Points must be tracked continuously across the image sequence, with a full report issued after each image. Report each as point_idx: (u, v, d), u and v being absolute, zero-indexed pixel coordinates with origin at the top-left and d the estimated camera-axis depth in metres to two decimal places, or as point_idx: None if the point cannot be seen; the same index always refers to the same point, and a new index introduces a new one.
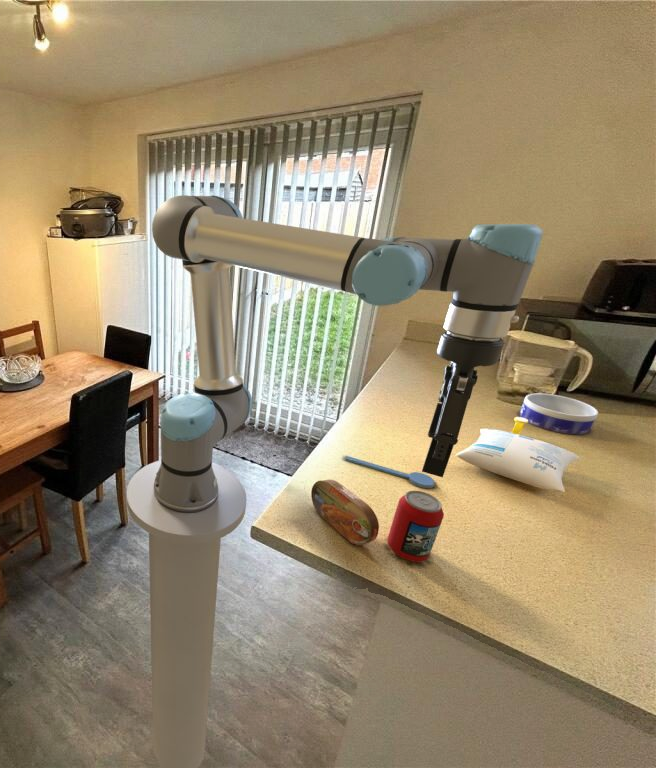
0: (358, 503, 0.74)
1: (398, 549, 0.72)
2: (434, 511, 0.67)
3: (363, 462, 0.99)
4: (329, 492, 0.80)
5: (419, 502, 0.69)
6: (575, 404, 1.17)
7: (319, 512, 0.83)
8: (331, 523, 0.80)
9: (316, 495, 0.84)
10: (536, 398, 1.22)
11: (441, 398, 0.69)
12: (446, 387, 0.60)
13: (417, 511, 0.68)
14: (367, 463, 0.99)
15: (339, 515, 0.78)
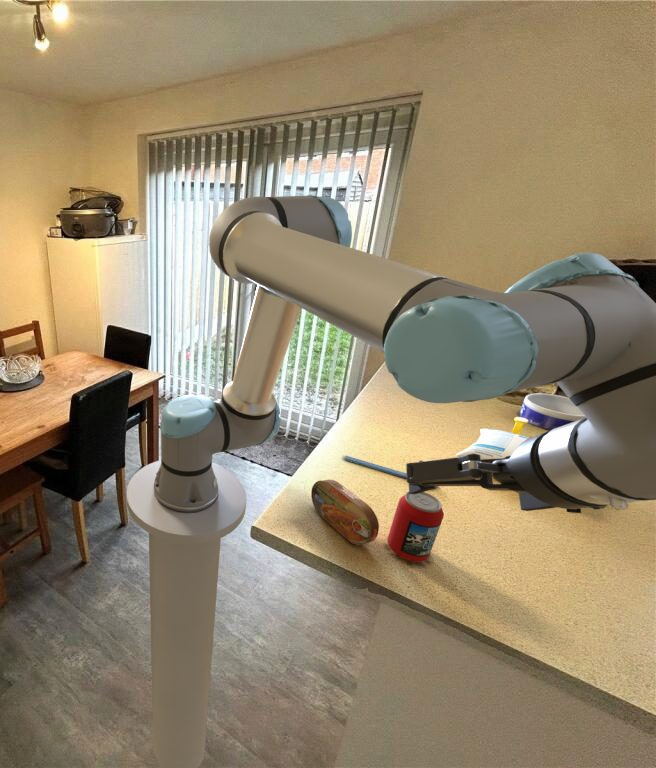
0: (358, 503, 0.74)
1: (398, 549, 0.72)
2: (434, 511, 0.67)
3: (363, 462, 0.99)
4: (329, 492, 0.80)
5: (419, 502, 0.69)
6: None
7: (319, 512, 0.83)
8: (331, 523, 0.80)
9: (316, 495, 0.84)
10: (536, 398, 1.22)
11: None
12: (491, 461, 0.46)
13: (417, 511, 0.68)
14: (367, 463, 0.99)
15: (339, 515, 0.78)
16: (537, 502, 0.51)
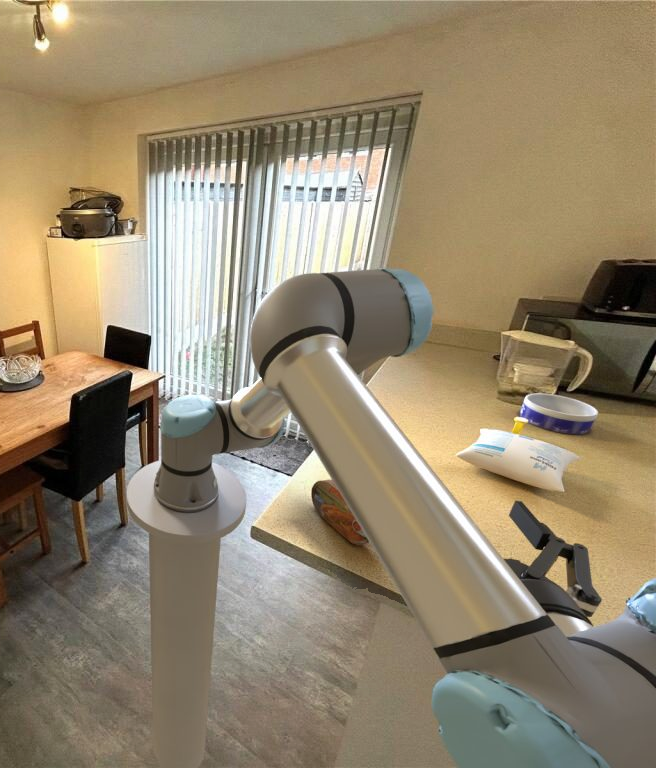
0: None
1: None
2: None
3: None
4: (329, 492, 0.80)
5: None
6: (575, 404, 1.17)
7: (319, 512, 0.83)
8: (331, 523, 0.80)
9: (316, 495, 0.84)
10: (536, 398, 1.22)
11: (548, 542, 0.49)
12: None
13: None
14: None
15: (339, 515, 0.78)
16: (523, 528, 0.53)
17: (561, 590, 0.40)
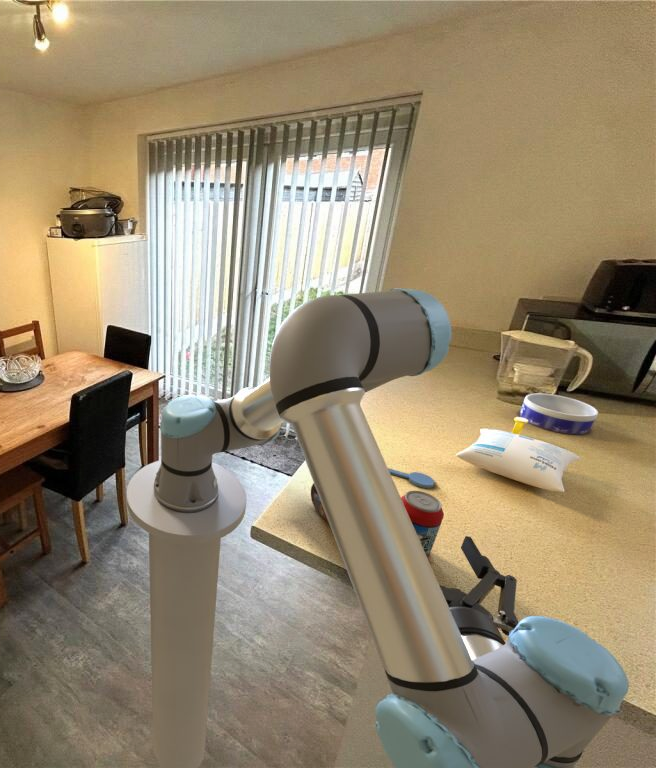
0: None
1: None
2: (434, 511, 0.67)
3: None
4: None
5: (419, 502, 0.69)
6: (575, 404, 1.17)
7: (318, 511, 0.84)
8: None
9: (315, 494, 0.84)
10: (536, 398, 1.22)
11: (486, 573, 0.60)
12: None
13: (417, 511, 0.68)
14: None
15: None
16: (470, 560, 0.65)
17: (485, 616, 0.51)
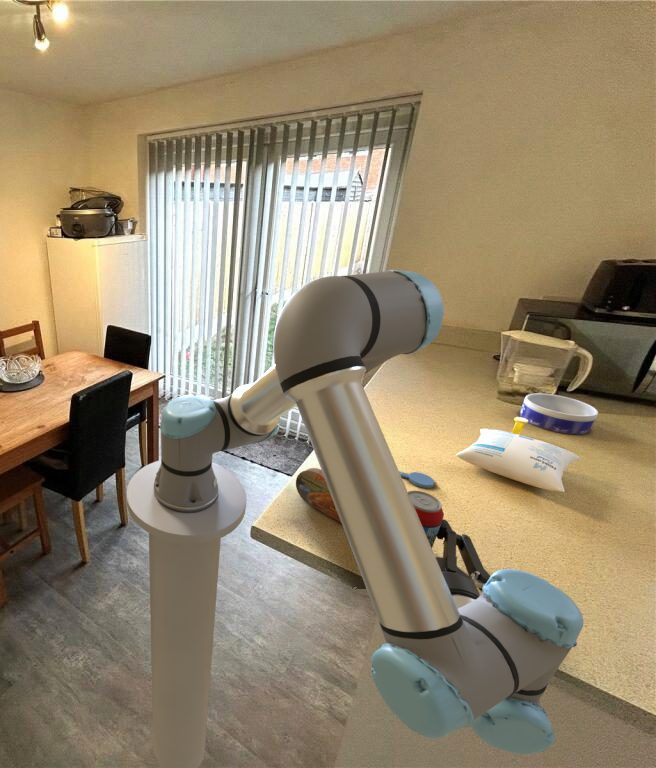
0: None
1: None
2: (434, 511, 0.67)
3: None
4: (315, 480, 0.84)
5: (419, 502, 0.69)
6: (575, 404, 1.17)
7: (306, 501, 0.87)
8: (321, 509, 0.84)
9: (301, 485, 0.87)
10: (536, 398, 1.22)
11: (447, 535, 0.67)
12: None
13: (417, 511, 0.68)
14: None
15: (329, 500, 0.82)
16: None
17: (466, 579, 0.56)
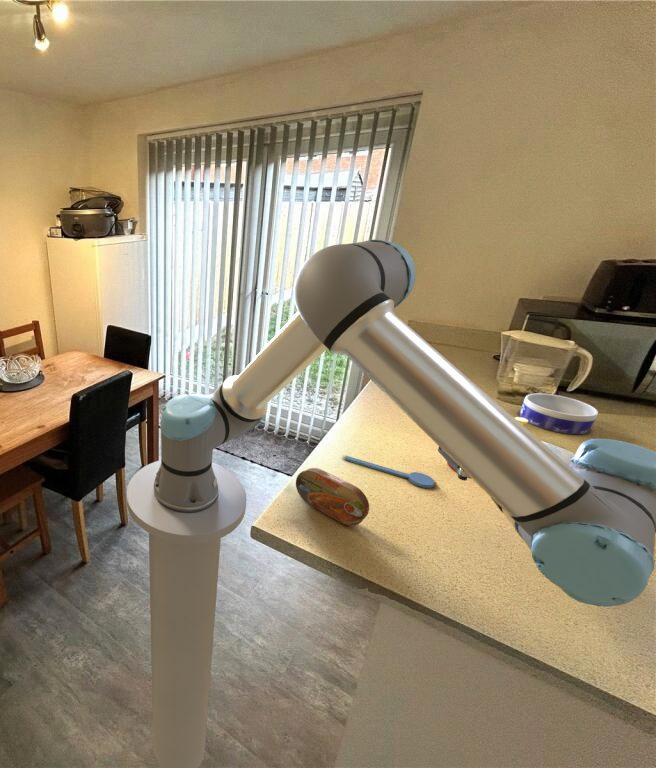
0: (348, 486, 0.79)
1: None
2: None
3: (363, 462, 0.99)
4: (315, 480, 0.84)
5: None
6: (575, 404, 1.17)
7: (306, 501, 0.87)
8: (321, 509, 0.84)
9: (301, 485, 0.87)
10: (536, 398, 1.22)
11: None
12: None
13: None
14: (367, 463, 0.99)
15: (329, 500, 0.82)
16: None
17: None
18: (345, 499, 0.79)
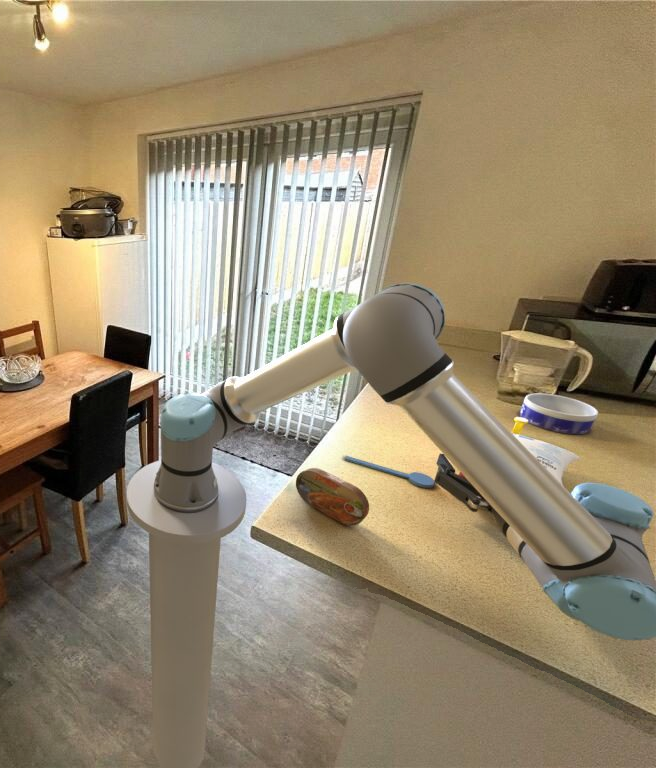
0: (348, 486, 0.79)
1: None
2: None
3: (363, 462, 0.99)
4: (315, 480, 0.84)
5: None
6: (575, 404, 1.17)
7: (306, 501, 0.87)
8: (321, 509, 0.84)
9: (301, 485, 0.87)
10: (536, 398, 1.22)
11: None
12: None
13: None
14: (367, 463, 0.99)
15: (329, 500, 0.82)
16: None
17: None
18: (345, 499, 0.79)
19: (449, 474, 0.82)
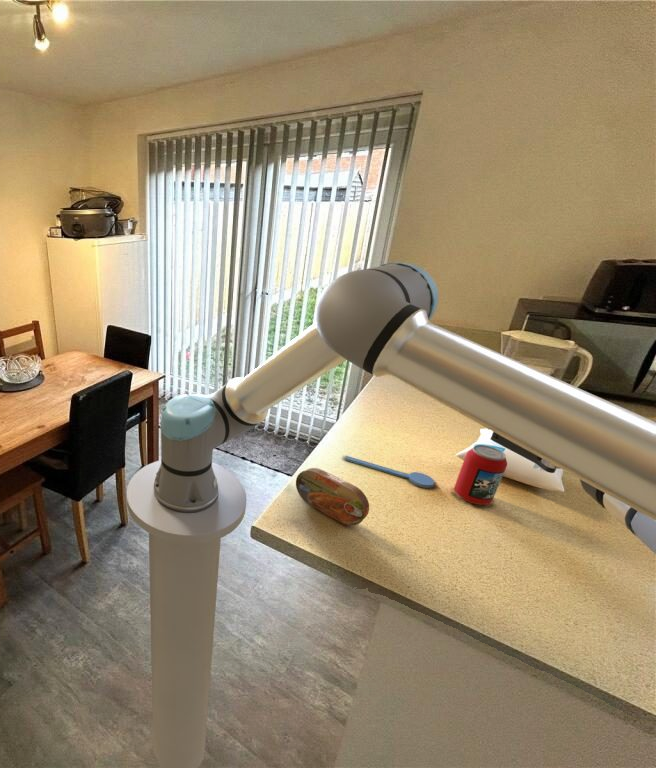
0: (348, 486, 0.79)
1: (466, 494, 0.85)
2: (500, 459, 0.80)
3: (363, 462, 0.99)
4: (315, 480, 0.84)
5: (485, 453, 0.82)
6: None
7: (306, 501, 0.87)
8: (321, 509, 0.84)
9: (301, 485, 0.87)
10: None
11: None
12: None
13: (485, 460, 0.81)
14: (367, 463, 0.99)
15: (329, 500, 0.82)
16: None
17: None
18: (345, 499, 0.79)
19: None
